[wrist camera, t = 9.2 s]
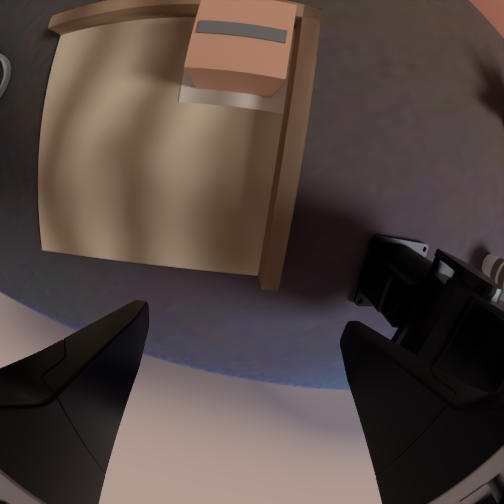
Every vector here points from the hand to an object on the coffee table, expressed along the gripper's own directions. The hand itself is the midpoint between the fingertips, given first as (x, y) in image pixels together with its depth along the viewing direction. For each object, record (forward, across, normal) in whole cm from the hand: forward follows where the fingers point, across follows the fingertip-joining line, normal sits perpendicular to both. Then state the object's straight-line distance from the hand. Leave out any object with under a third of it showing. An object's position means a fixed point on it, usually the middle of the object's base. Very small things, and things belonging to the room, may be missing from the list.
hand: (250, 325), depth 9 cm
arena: (+12, +7, -6) cm, 15 cm away
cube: (+11, +2, -12) cm, 16 cm away
